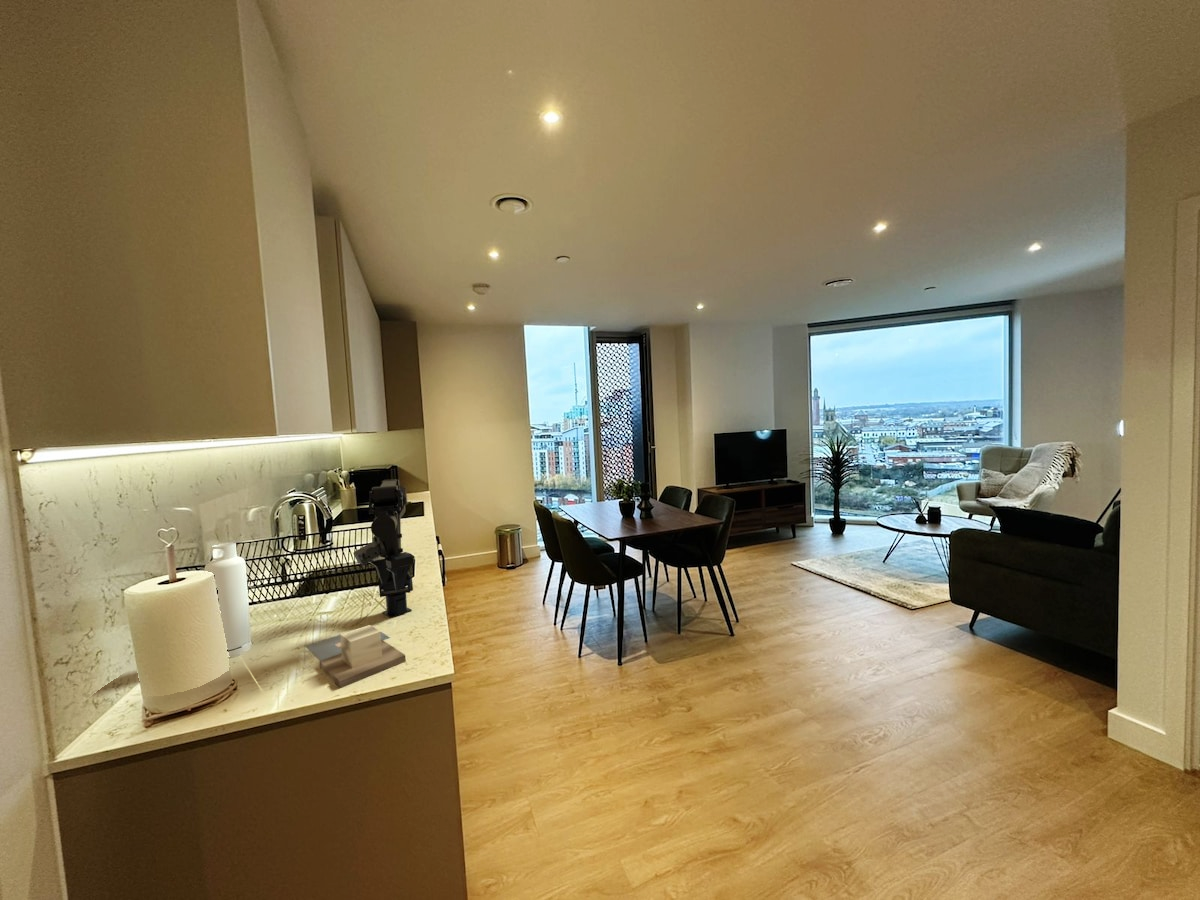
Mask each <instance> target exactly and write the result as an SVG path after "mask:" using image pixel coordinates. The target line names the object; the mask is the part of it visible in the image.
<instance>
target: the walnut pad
mask: <svg viewBox="0 0 1200 900" xmlns="http://www.w3.org/2000/svg"><path fill="white" fill-rule="evenodd" d="M381 645H382V657H380V658H377V659H375V660H372V661H370V662H367V663H365V664H362V665H360V666H357V667H354V668H351V667H350V666H349V665H348V664H347V663H345V662H344V661H343V660H342V653H341V654H338V655H336V656H333V657H330V658H327V659H324V660H322V661H320V660H318V661H319V667H320V669H321V670H322V671H323V672H324V673H325V674H327V676H328V677H329V678H330V679H331V680H332V681H334V684H336V686H337V687H338V688H339V689H341V688H344V687H347V686H349V685H352V684H353V683H357V682H359V681H361V680H364V679H366V678H368V677H371V676H372V675H375V674H378V673H381V672H383V671H386V670H388V669H391V668H392V667H395V666H397V665H400V664H403V663H405V662H406V661H407V660H406V655H405V653H404V652H403V653H402V652H401V651H400V650H398V649H397V648H395V647H394V646H392V645H391V644H389V643H388V642H386V641H385V640H382V639H381Z"/></svg>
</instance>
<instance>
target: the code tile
mask: <svg viewBox="0 0 1200 900" xmlns="http://www.w3.org/2000/svg"><path fill="white" fill-rule="evenodd" d="M371 626H372V625H371ZM372 627H374V626H372ZM381 639H382V640H383V641H385V640H388V639H391V637H390V636H388V635H387V634H385V633H384V632H382V631H381ZM304 646H305V648H306V649H307V650H308V651H309V652H310V653H312V655H314V657H315V658H317V659H318V661H322V660H324V659H327V658H330V657H333V656H336V655H338V654H341V653H342V651H341V636H340V634H338V635H335V636H332V637H331V636H330V637H328V638H326V639H322V640H320V641H316V642H313V643H309V644H308V645H304Z"/></svg>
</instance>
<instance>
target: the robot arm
mask: <svg viewBox="0 0 1200 900" xmlns="http://www.w3.org/2000/svg"><path fill="white" fill-rule="evenodd" d="M407 493H408V492H407V489H406V488H405V486H403V485H402V484H400V480H399V479H397V478H394V479H384V480H381V482H380V486H373V487H372V488H371V491H369V494H368V514H369V515H372V514H373V515H374V519H373V521H372V522H371V525H370V532H371V533H372V534H373V535H372V536H373V537H372V542H370V543H369V544H365V545H363V546H362V547H360V548H359V549H357V550H355V551H354V552H352V554H353V556H354V558H355V560H356V562H357V563H358V564H361V565H362V566H365V565H367V564H369V563H370V564H371V565H373V566H374V567H375V569H376V572H377V575H378V590H379V591H378V592H379V598H383V597H385V607H386V609H385V610H384V611H382V615H384V616H386V617H388V619H389V618H390V619H393V618H395V617H399V616H401V615H405V614H407V613H411V612H413V610H412V609H411V608H409V607H408V602H407V593H411V592H413V591H414V586H413V585H414V584H413V577H412V576H411V574H410V572H409V571H410V568H411V567H413V565H414V564H415V562H416V561H415V560H416V559H415V555H413V554H412V553H410V552H406V551H404V548H402V538H403V533H402V531H401V524H402V523H401V518H402V517H403V516H404V514H405V513H406V506H407V505H408V495H407Z"/></svg>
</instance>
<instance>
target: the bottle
mask: <svg viewBox="0 0 1200 900" xmlns="http://www.w3.org/2000/svg"><path fill="white" fill-rule="evenodd" d="M211 554H212V555H211V556H212V560H211V561H209V562H208V563H206V564H205V566H204V572H205V571H208V572H212V573H213V574H214V575H215V580H216V584H217V590H218V598H219V604H220V611H221V617H222V622H223V628H224V633H225V638H226V643H227V648H228V652H229V656H230V658H229V659H232V658H235V657H238V656H240V655H241V654H244V653H245V652H247V651H249V650H250V649H252V646H253V644H252V640H251V639H252V632H251V618H250V617H251V616H250V605H249V591H248V579H247V578H248V577H247V576H248V575H247V564H246V563H247V561H246V560H245V559H244V558H243V557H242V556H238V555H237V554H238V553H237V543H236V542H224V543H218V544H214V545H212V546H211Z"/></svg>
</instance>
